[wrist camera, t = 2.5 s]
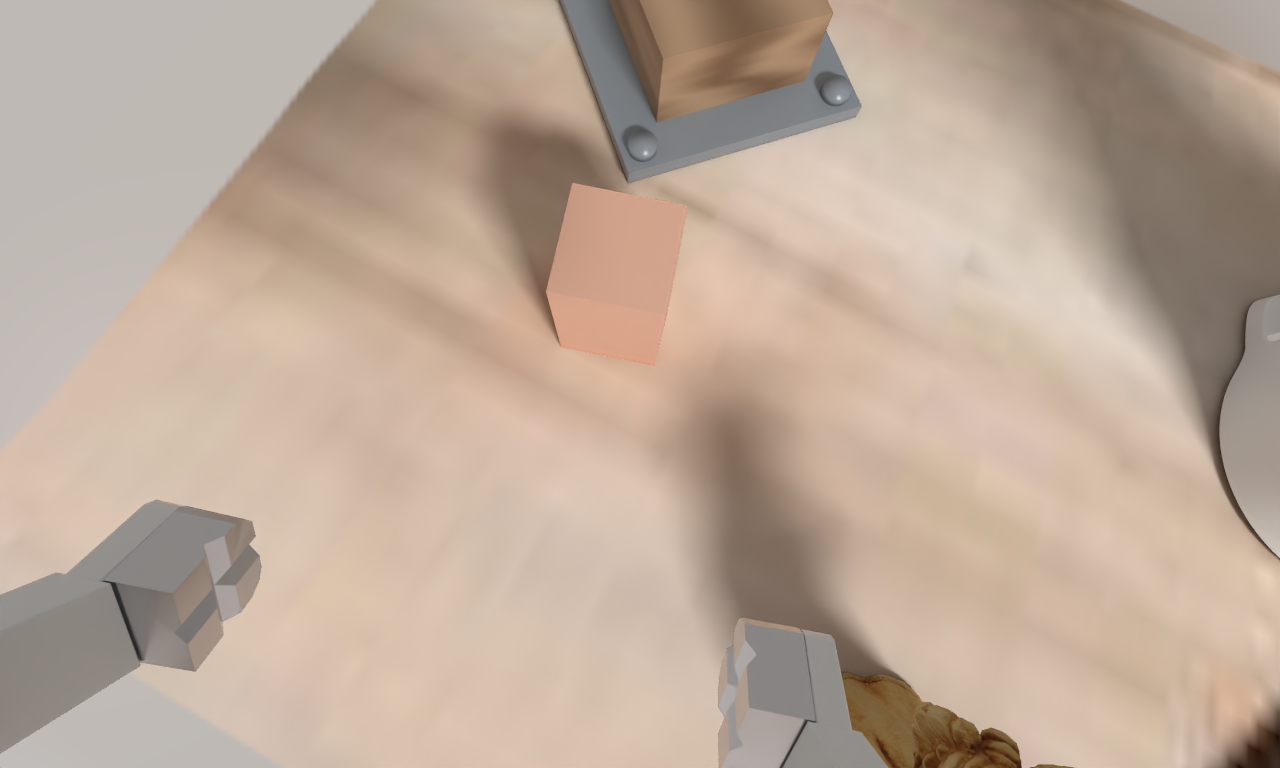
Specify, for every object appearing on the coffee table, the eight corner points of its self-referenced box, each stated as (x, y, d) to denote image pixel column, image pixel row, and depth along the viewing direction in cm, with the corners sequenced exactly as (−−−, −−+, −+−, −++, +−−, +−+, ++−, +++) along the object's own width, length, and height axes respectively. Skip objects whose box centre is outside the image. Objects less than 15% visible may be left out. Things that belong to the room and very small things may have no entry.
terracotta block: (581, 260, 36) (572, 182, 28) (671, 278, 36) (687, 205, 28) (560, 347, 34) (545, 291, 27) (654, 365, 34) (666, 315, 27)
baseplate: (767, -71, 41) (773, -95, 39) (855, 117, 38) (865, 99, 37) (553, -17, 39) (550, -40, 38) (628, 183, 37) (628, 167, 35)
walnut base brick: (748, -44, 39) (767, -126, 34) (804, 80, 37) (833, 12, 33) (605, -8, 38) (604, -87, 33) (656, 122, 36) (663, 58, 32)
